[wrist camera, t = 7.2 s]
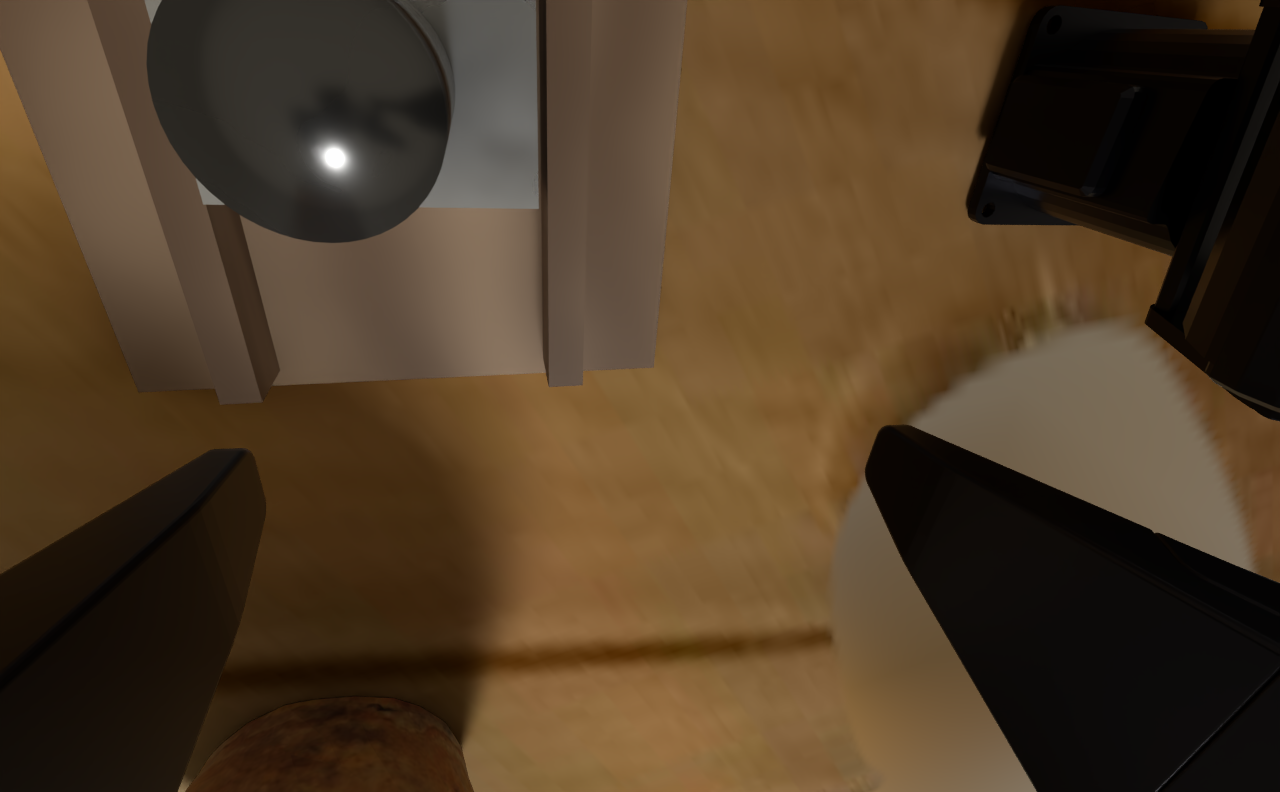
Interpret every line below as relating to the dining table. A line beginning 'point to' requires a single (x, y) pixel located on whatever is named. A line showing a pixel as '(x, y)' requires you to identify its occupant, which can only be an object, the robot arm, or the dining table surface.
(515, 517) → the dining table surface
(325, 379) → the press bed
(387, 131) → the metal press slider
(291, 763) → the potted plant
